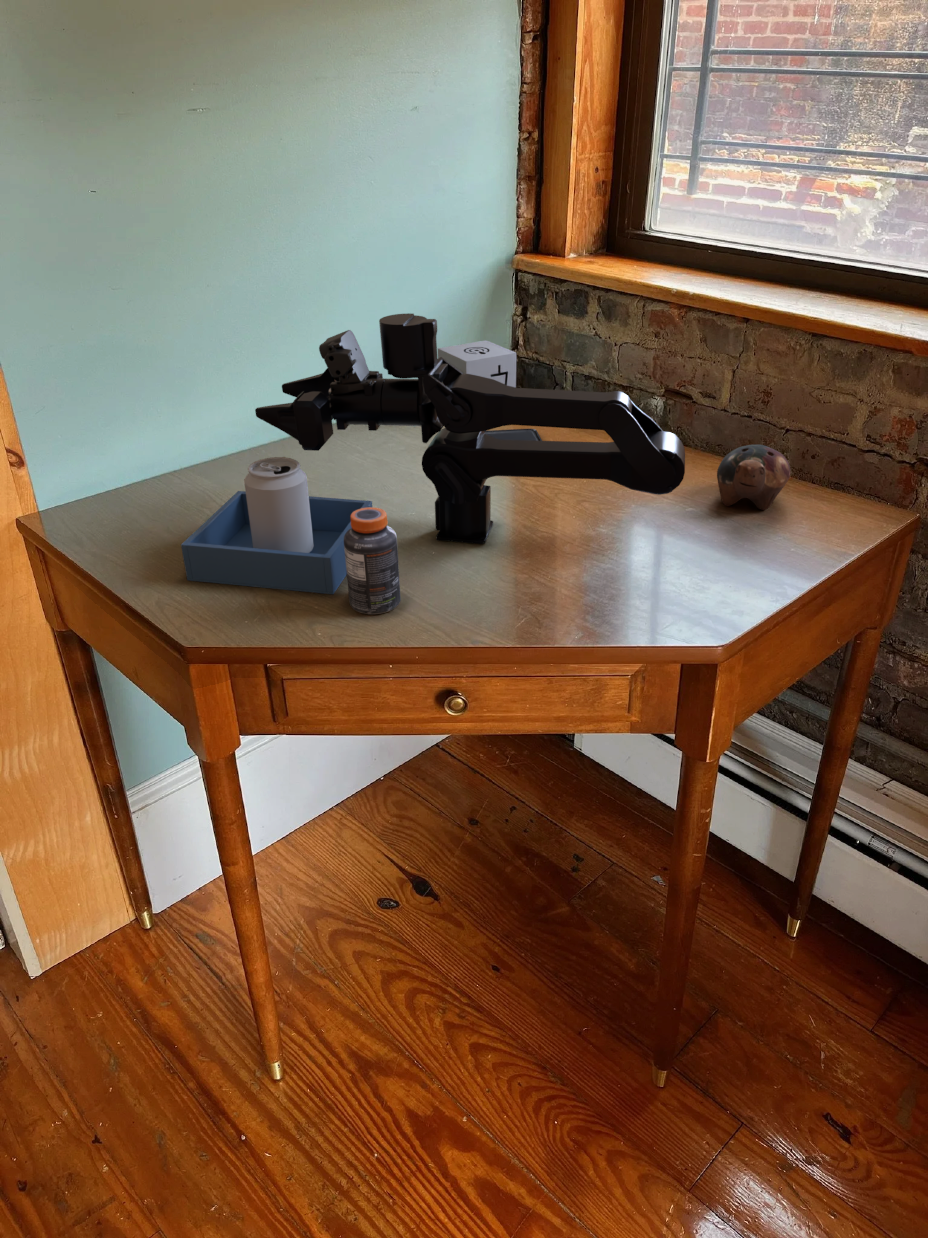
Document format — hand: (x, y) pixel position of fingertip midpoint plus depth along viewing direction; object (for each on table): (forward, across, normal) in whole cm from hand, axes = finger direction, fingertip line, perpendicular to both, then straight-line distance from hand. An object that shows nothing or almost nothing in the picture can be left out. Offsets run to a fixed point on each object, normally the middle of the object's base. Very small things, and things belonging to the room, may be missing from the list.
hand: (269, 399), depth 122 cm
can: (-4, +11, +16) cm, 20 cm away
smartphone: (-23, -32, +18) cm, 43 cm away
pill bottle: (-18, +21, +17) cm, 32 cm away
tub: (-4, +11, +16) cm, 20 cm away
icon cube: (-16, -52, +19) cm, 57 cm away
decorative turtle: (-62, -17, +20) cm, 67 cm away
